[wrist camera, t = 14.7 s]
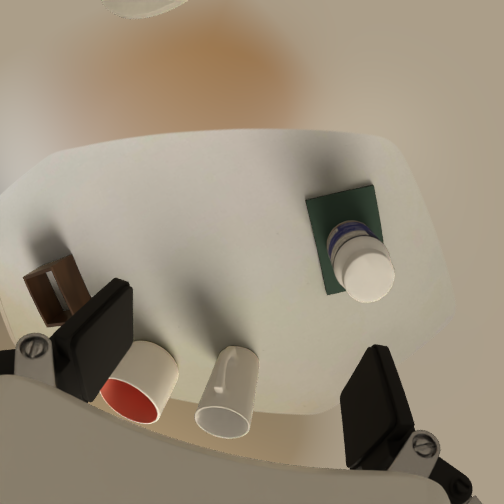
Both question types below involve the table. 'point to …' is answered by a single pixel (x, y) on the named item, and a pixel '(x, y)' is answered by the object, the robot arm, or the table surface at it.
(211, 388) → the mug
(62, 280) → the holder
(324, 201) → the mat
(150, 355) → the cup
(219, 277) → the table surface
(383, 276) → the pill bottle
